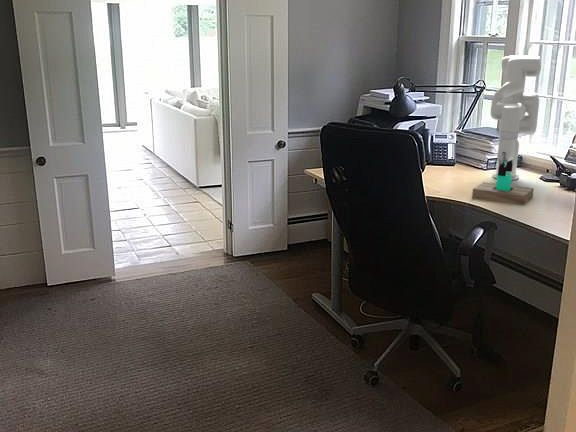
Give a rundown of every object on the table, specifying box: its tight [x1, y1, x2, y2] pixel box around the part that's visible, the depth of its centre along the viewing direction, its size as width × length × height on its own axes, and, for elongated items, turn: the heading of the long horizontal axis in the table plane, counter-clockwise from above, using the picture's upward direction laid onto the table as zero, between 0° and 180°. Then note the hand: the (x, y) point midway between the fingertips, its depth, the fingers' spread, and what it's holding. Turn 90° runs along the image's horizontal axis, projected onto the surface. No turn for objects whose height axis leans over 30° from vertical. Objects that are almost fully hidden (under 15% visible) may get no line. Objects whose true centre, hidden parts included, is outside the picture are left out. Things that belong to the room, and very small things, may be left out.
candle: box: [495, 173, 512, 191], centre depth 269 cm, size 6×6×12 cm
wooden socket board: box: [471, 181, 535, 206], centre depth 270 cm, size 16×22×4 cm
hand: (504, 173), depth 268 cm, fingers open, 9 cm apart
